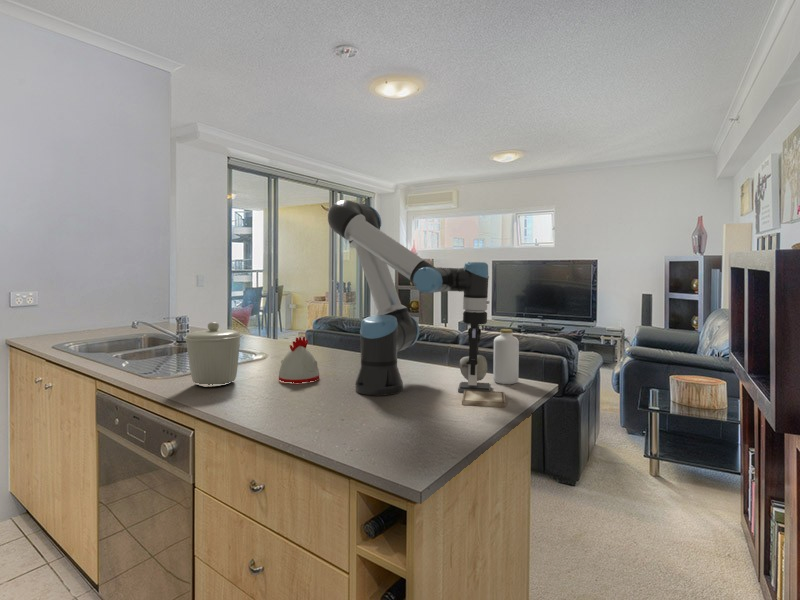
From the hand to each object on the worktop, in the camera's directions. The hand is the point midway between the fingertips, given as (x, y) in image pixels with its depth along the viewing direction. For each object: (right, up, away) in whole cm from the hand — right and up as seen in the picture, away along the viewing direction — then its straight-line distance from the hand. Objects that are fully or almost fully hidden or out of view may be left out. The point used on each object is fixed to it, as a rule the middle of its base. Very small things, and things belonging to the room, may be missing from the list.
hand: (473, 381), depth 143 cm
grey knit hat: (-59, -2, +14) cm, 61 cm away
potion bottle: (+13, -2, +10) cm, 16 cm away
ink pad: (0, -3, 0) cm, 3 cm away
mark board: (+1, -3, -11) cm, 12 cm away
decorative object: (0, 0, 0) cm, 0 cm away
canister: (-86, -3, +7) cm, 86 cm away
